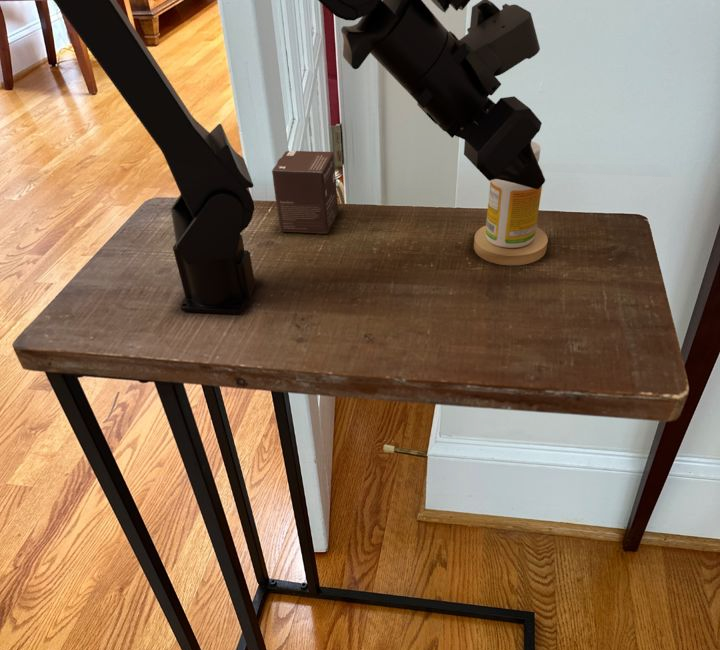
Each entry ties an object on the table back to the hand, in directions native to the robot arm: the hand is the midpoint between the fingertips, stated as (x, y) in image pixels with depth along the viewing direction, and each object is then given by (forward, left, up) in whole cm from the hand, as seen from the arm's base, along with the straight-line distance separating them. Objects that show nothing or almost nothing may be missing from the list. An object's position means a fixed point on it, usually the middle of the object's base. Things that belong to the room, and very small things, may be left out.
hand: (522, 167), depth 71 cm
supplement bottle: (0, 0, -8) cm, 8 cm away
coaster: (0, 0, -9) cm, 9 cm away
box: (-24, +4, -9) cm, 26 cm away
